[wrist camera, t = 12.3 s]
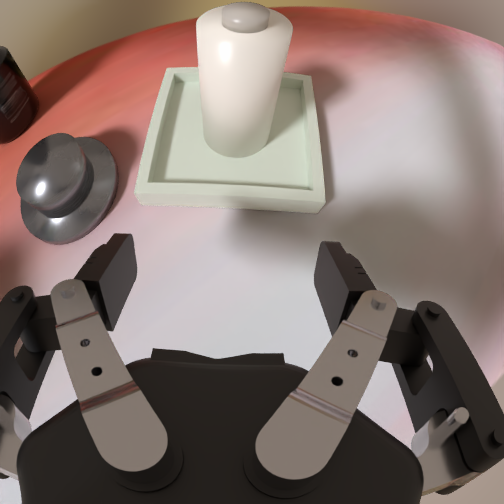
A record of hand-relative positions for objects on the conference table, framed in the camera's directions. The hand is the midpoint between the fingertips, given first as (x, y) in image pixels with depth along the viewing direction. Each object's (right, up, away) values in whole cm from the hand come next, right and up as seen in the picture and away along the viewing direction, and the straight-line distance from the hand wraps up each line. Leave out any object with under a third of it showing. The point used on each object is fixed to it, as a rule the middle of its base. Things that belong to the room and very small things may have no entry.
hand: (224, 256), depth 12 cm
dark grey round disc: (-13, +5, +8) cm, 16 cm away
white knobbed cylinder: (0, +9, +9) cm, 13 cm away
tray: (0, +9, +10) cm, 14 cm away
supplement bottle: (-24, +14, +9) cm, 30 cm away
